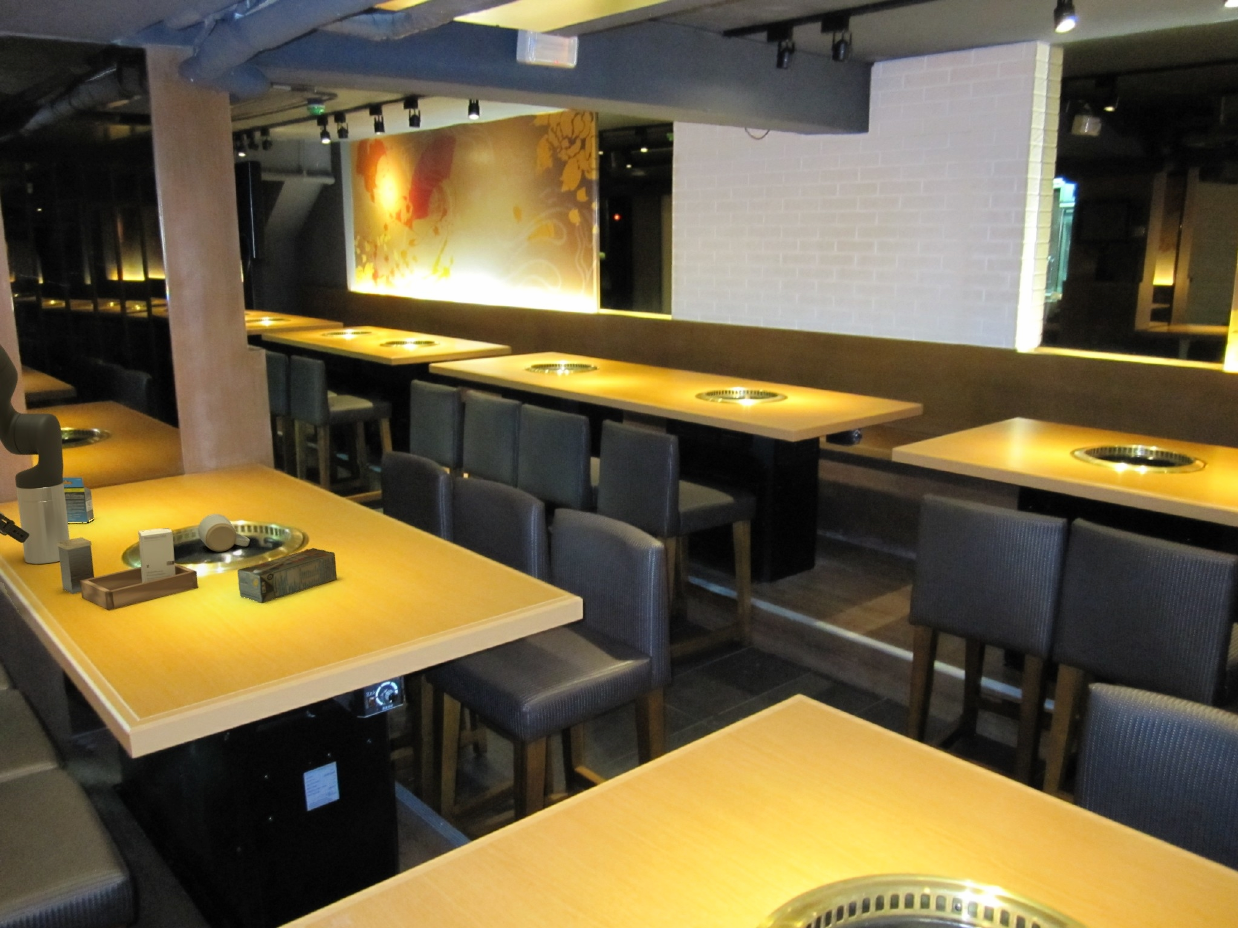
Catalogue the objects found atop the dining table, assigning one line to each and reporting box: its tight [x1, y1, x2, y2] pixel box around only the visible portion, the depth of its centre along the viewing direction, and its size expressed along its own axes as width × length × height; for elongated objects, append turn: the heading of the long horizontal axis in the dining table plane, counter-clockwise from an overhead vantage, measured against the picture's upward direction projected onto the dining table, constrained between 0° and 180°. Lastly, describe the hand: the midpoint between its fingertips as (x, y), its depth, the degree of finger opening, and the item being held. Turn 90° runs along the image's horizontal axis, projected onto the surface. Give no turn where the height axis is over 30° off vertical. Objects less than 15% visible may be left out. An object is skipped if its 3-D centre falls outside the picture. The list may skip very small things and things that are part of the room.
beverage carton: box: [237, 547, 338, 604], centre depth 206 cm, size 8×19×7 cm, turn 145°
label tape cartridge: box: [63, 476, 95, 522], centre depth 258 cm, size 9×4×12 cm, turn 92°
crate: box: [80, 563, 199, 611], centre depth 203 cm, size 12×18×4 cm, turn 141°
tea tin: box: [57, 536, 95, 595], centre depth 205 cm, size 5×5×10 cm
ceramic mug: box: [197, 513, 250, 553], centre depth 235 cm, size 11×8×8 cm
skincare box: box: [138, 527, 175, 583], centre depth 205 cm, size 6×4×12 cm
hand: (17, 535), depth 195 cm, fingers open, 8 cm apart
